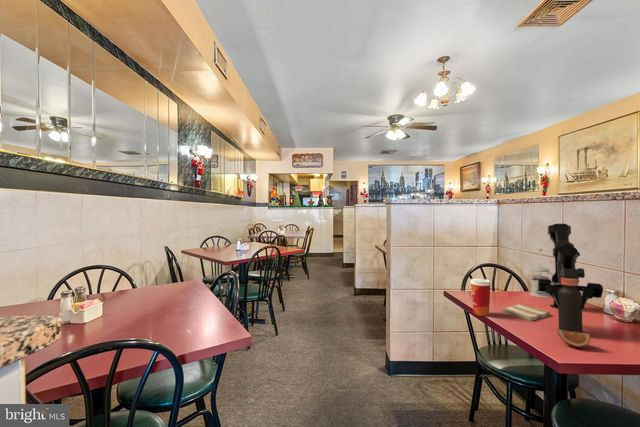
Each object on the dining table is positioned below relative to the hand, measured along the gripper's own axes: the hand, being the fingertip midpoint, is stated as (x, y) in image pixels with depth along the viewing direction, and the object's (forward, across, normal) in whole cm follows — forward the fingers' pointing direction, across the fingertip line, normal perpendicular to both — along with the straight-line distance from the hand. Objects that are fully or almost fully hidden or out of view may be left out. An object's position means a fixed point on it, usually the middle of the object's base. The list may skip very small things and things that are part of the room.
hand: (570, 307), depth 107 cm
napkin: (-4, -14, +18) cm, 23 cm away
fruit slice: (+16, -1, -1) cm, 16 cm away
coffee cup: (+3, -30, +11) cm, 32 cm away
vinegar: (+6, 0, +8) cm, 10 cm away
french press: (-32, -6, +45) cm, 56 cm away
